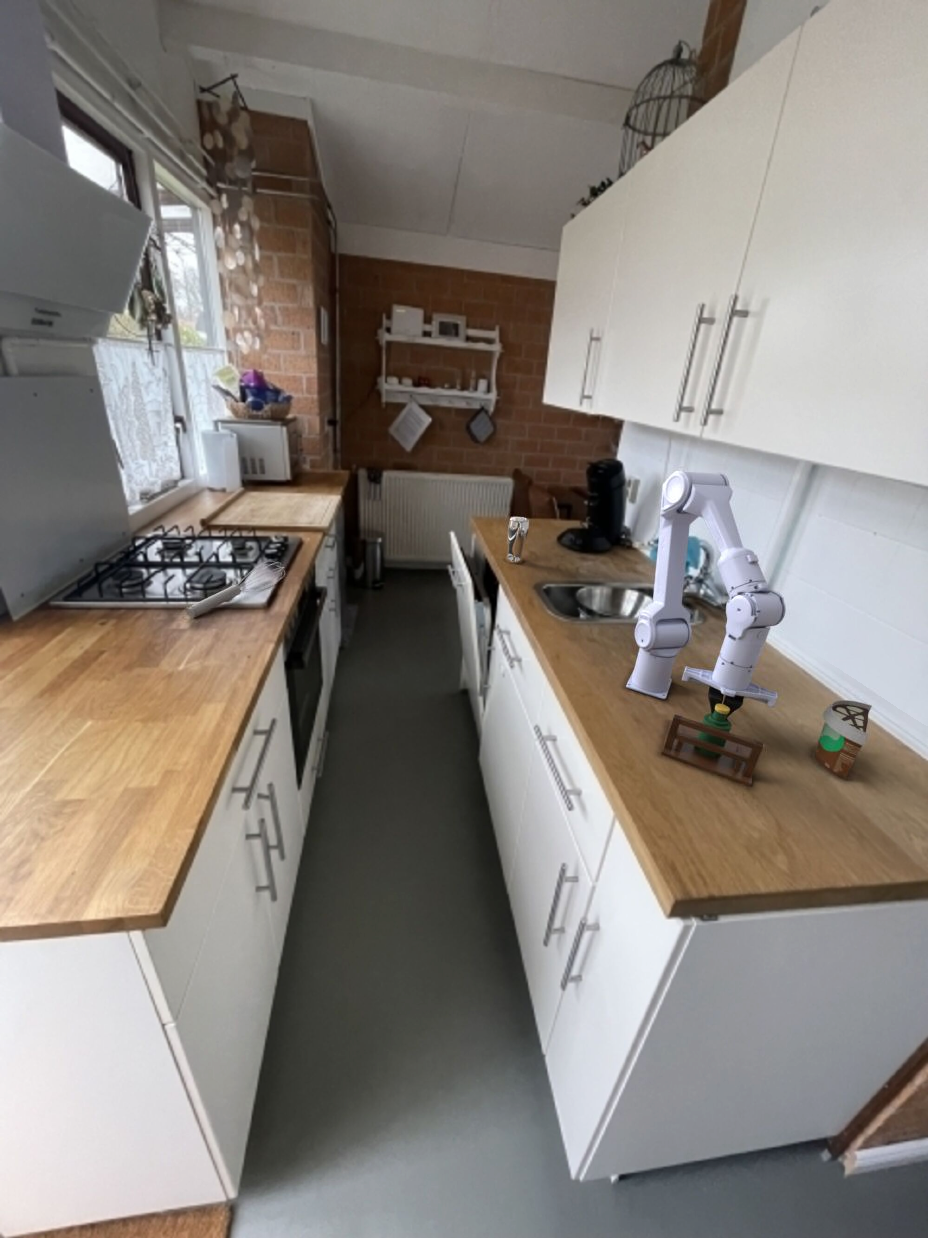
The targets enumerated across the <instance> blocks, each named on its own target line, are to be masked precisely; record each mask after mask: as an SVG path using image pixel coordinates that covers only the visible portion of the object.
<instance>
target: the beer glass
mask: <svg viewBox="0 0 928 1238" xmlns="http://www.w3.org/2000/svg"><path fill="white" fill-rule="evenodd" d="M529 523H530V519H529V518H527V517H523V516H510V517H509V520H508V525H507V535H506V536H507V538H506V539H507V552H506V556H505V560H504V561H505V562H507V563H509V564H522V563H523V553H524V548H525V545H526V542H527V538H528V533H529V525H530V524H529ZM512 560H513V561H512ZM520 560H521V561H520Z"/></svg>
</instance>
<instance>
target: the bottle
mask: <svg viewBox="0 0 928 1238" xmlns="http://www.w3.org/2000/svg"><path fill="white" fill-rule="evenodd" d="M729 711H730V708H729V707H728V706H726V705H724V704H723V703H722V704H716V706H715V711H714V713H712V714H711V713H707V714H704V716H703V719H702V721H701V723H702V724H705V725H708V726H711V727H715V728H718V729H721V730H724V731H727V732H730V733H731V730H732V729H733V724H732V722H731V721H730V720H729V719H728V718H726V717H727V715H728V713H729ZM697 738H698V739H701V740H704V741H707V742H710V743H713V744H716V745H719V746H722V747H724V746H725V744H726V741H727V740H725V739H722V738H719V737H716V736H713V735H710V734H707V733H704V732H701V731H699V733H698V736H697ZM695 748H696V749H697V751H699V752H700V753H701V754H703V755H705V756H708V757H713V758H717V757H720V756H721V754H718V753H715V752H712V751H709V750H706V749H703V748H701V747H698V746H695Z"/></svg>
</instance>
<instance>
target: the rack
mask: <svg viewBox="0 0 928 1238" xmlns="http://www.w3.org/2000/svg"><path fill="white" fill-rule="evenodd" d="M699 731H701V732H704V733H707V734H710V735H713V736H716V737H719V738H722V739H725V740H727V741H726V744H725V746H724V747H722V746H719V745H716V744H713V743H710V742H707V741H704V740H701V739H698V738H697V736H698V733H699ZM695 746H698V747H701V748H703V749H706V750H709V751H712V752H715V753H718V754H721V756H720V757H717V758H713V757H708V756H705V755H703V754H701V753H700V752H699V751H697V749H696V748H695ZM763 749H764V742H761V741H758V740H754V739H751V738H748V737H745V736H742V735H739V734H736V733H732V732H731V731H730V732H727V731H724V730H721V729H718V728H715V727H711V726H708V725H705V724H702V722H699V721H696V720H693V719H690V718H688V717H687V718H686V717H684V716H682V715H679V714H676V713H674V714H673V717H672V720H671V719H670V721H669V724H668V728H667V732H666V734H665V738H664V741H663V745H662V749H661V752H660V755H661V756H665V757H667V758H668V757H669V758H670V759H673V760H676V761H679V762H681V763H684V764H686V765H690V766H692V767H695V768H698V769H701V770H703V771H706V772H709V773H712V774H715V775H717V776H720V777H723V778H726V779H729V780H730V781H734V782H737V783H740V784H743V785H745V786H747V787H751V786H752V783H753V773H754V771H755V768H756V767H757V764H758V761H759V759H760V757H761V754H762V752H763Z"/></svg>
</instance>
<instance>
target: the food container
mask: <svg viewBox="0 0 928 1238" xmlns="http://www.w3.org/2000/svg"><path fill="white" fill-rule="evenodd" d="M872 707H873V705H871V704H868V703H864V702H861V701H856V700H848V699H842V700H841V699H840V700H836V701H834V702H832V703H831V704H829V705H828V706H827V708H826V709H825V710H824V711H823V713H822V718H823V720H824V723H823V725H822V729H821V732H820V735H819V738H818V740H817V743H816V746H815V749H814V752H813V757H814V759H815V761H816V762H817V764H819V766H821V767H822V768H823V769H824V770H826V772H828V773H830V774H832V775H833V776H835V777H837V778H839V779H840V780H841V779H842V780H845V779H846V778H847V776H848V774H849V773H850V770H851V769H852V766H853V764H854V763H855V761H856V759H857V757H858V755H859V753H860V752H861V749H862V748H863V746H864V745H865V743H866V741H867V738H868V736H869V733H868V732H867V728H868V723H869V715H870V711H871V709H872Z"/></svg>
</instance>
